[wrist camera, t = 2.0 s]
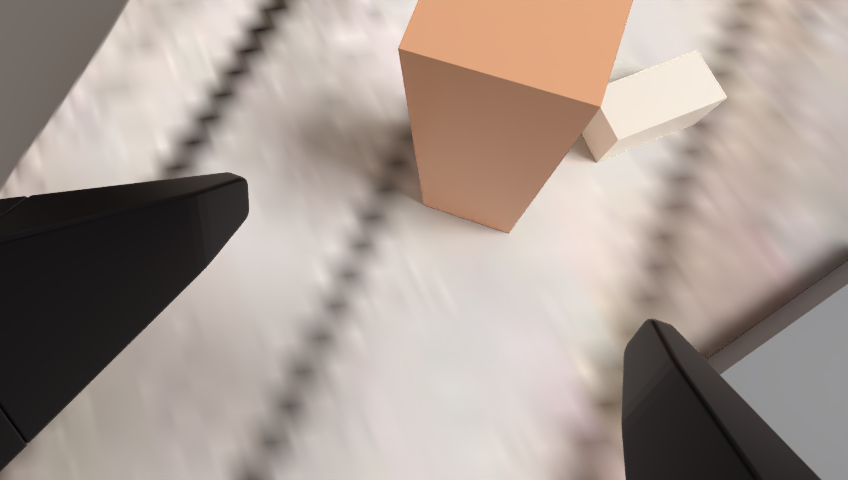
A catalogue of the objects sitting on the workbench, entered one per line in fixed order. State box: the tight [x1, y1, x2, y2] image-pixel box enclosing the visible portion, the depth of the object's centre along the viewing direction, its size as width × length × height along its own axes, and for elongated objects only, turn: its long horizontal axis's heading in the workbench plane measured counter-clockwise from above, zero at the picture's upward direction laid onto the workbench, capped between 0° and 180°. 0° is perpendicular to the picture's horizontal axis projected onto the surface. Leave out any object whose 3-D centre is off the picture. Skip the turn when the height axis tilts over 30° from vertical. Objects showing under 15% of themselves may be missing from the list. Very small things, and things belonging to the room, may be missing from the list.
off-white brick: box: [581, 50, 727, 162], centre depth 22 cm, size 6×3×3 cm, turn 112°
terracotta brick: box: [398, 0, 633, 233], centre depth 16 cm, size 5×5×13 cm
